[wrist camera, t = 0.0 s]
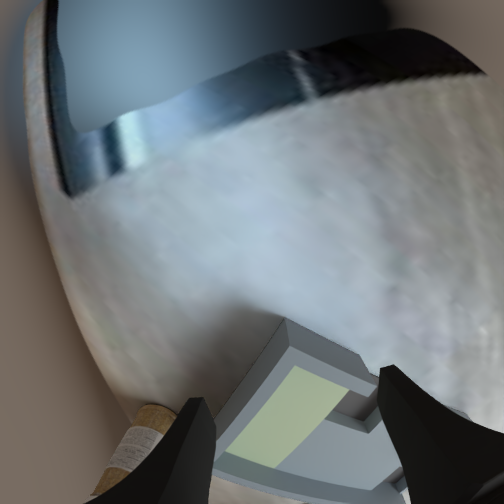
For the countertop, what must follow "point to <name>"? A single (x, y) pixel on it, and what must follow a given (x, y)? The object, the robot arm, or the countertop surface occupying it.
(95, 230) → the countertop surface
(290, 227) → the countertop surface
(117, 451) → the sprinkles bottle
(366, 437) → the grey pocketed tray
